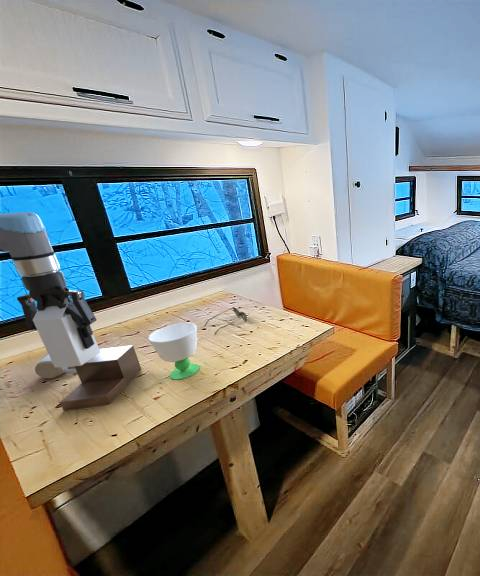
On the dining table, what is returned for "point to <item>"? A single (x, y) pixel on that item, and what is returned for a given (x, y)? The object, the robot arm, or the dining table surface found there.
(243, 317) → the sunglasses
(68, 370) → the ceramic mug
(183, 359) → the cup
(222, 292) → the dining table surface
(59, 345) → the milk carton
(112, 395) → the shelf stand
